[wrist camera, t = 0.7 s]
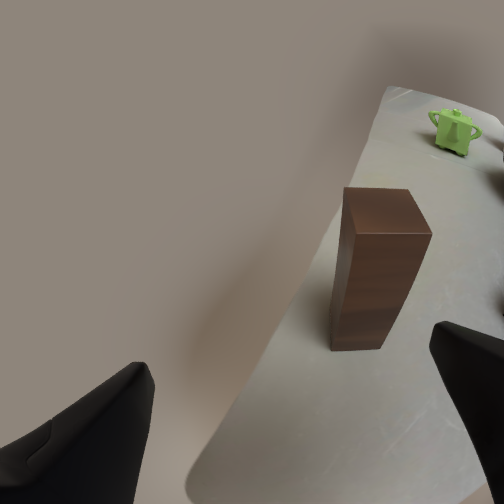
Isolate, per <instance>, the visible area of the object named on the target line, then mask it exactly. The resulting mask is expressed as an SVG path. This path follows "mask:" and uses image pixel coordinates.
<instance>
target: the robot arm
mask: <svg viewBox="0 0 504 504" xmlns="http://www.w3.org/2000/svg"><path fill="white" fill-rule="evenodd" d="M429 349H430V352H431V354H432V357H433V359H434V361H435V364H436V366H437V368H438V371H439V373H440V375H441V378H442V380H443V383H444V385H445V387H446V389H447V391H448V393H449V395H450V397H451V399H452V401H453V403H454V405H455V407H456V409H457V411H458V413H459V415H460V417H461V419H462V421H463V423H464V425H465V427H466V429H467V432H468V434H469V436H470V438H471V441H472V443H473V445H474V448H475V450H476V452H477V455H478V457H479V460H480V462H481V465H482V468H483V470H484V473H485V476H486V477H487V478H486V479H487V482H488V485H489V488H490V491H491V494H492V497H493V500H494V504H504V340H501V339H498V338H495V337H492V336H489V335H487V334H484V333H481V332H478V331H475V330H472V329H469V328H466V327H463V326H460V325H457V324H454V323H451V322H448V321H442V322H439V323H437V324H435V326H434V328H433V332H432V336H431V340H430V344H429ZM154 391H155V384H154V380H153V378H152V376H151V373H150V371H149V369H148V366H147V365H146V363H144V362H132V363H130V364H129V365H128V366H126V367H125V368H123V369H122V370H120V371H119V372H118V373H116V374H115V375H114V376H112V377H111V378H110V379H108V380H106V381H105V382H104V383H102V384H101V385H99V386H98V387H96V388H95V389H94V390H92V391H91V392H89V393H88V394H86V395H85V396H84V397H82V398H81V399H79V400H78V401H77V402H75V403H74V404H72V405H71V406H69V407H68V408H66V409H65V410H63V411H62V412H61V413H59V414H57V415H56V416H55V417H53V418H52V420H49V421H47V422H46V423H44V424H43V425H41V426H40V427H38V428H37V429H35V430H34V431H32V432H30V433H28V434H27V435H25V436H23V437H21V438H19V439H18V440H16V441H14V442H12V443H10V444H8V445H6V446H4V447H2V448H0V504H133V502H134V497H135V492H136V486H137V482H138V477H139V472H140V468H141V463H142V459H143V454H144V450H145V446H146V441H147V438H148V433H149V428H150V421H151V413H152V405H153V398H154Z"/></svg>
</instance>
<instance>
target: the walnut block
mask: <svg viewBox="0 0 504 504" xmlns="http://www.w3.org/2000/svg"><path fill="white" fill-rule="evenodd" d="M431 237H432V232H431V230H430V228H429V226H428V224H427V222H426V220H425V218H424V216H423V215H422V213H421V211H420V209H419V207H418V206H417V204H416V202H415V200H414V199H413V197H412V195H411V194H410V192H409V190H408V189H387V188H350V187H344V194H343V207H342V218H341V229H340V238H339V247H338V256H337V263H336V271H335V278H334V285H333V292H332V298H331V304H330V327H331V351H351V350H370V349H380V348H381V346H382V344H383V343H384V341H385V339H386V337H387V335H388V333H389V332H390V330H391V328H392V326H393V324H394V322H395V320H396V318H397V316H398V314H399V312H400V310H401V308H402V306H403V304H404V302H405V300H406V298H407V296H408V294H409V291H410V289H411V287H412V285H413V283H414V280H415V278H416V276H417V273H418V271H419V268H420V266H421V264H422V261H423V259H424V256H425V253H426V251H427V248H428V245H429V243H430V240H431Z"/></svg>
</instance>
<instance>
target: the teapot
mask: <svg viewBox="0 0 504 504" xmlns="http://www.w3.org/2000/svg"><path fill="white" fill-rule="evenodd" d="M461 113H462V112H461V111H459V110H458V109H453V111H450V110H447V109H444V108H443V109H442V110H441V112H437V111H430V112H429V117H430V119H431V121H432V122H433V123H434V125H435V126H436V127H437V135H436V142H435V144H438V145H439V147H440V148H442V149H446V148H449V149H451V150H454V151H456V153H457V154H458V155H460V156H463V154H464V155H466V156H467V152H468V147H469V142H470V140H473V139H476V138H478V137H480V136H481V135H482V130H481V129H480V128H479V127H477V126H476V125H474V124H472V118H470V117H467V116H464V115H462V114H461ZM434 115H439V120H438V123H437V121H436V119H435V117H434ZM472 127H473V128H475V129H476V130H477V132H476V133H475V134H474V135H472V136H471V131H472Z"/></svg>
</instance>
